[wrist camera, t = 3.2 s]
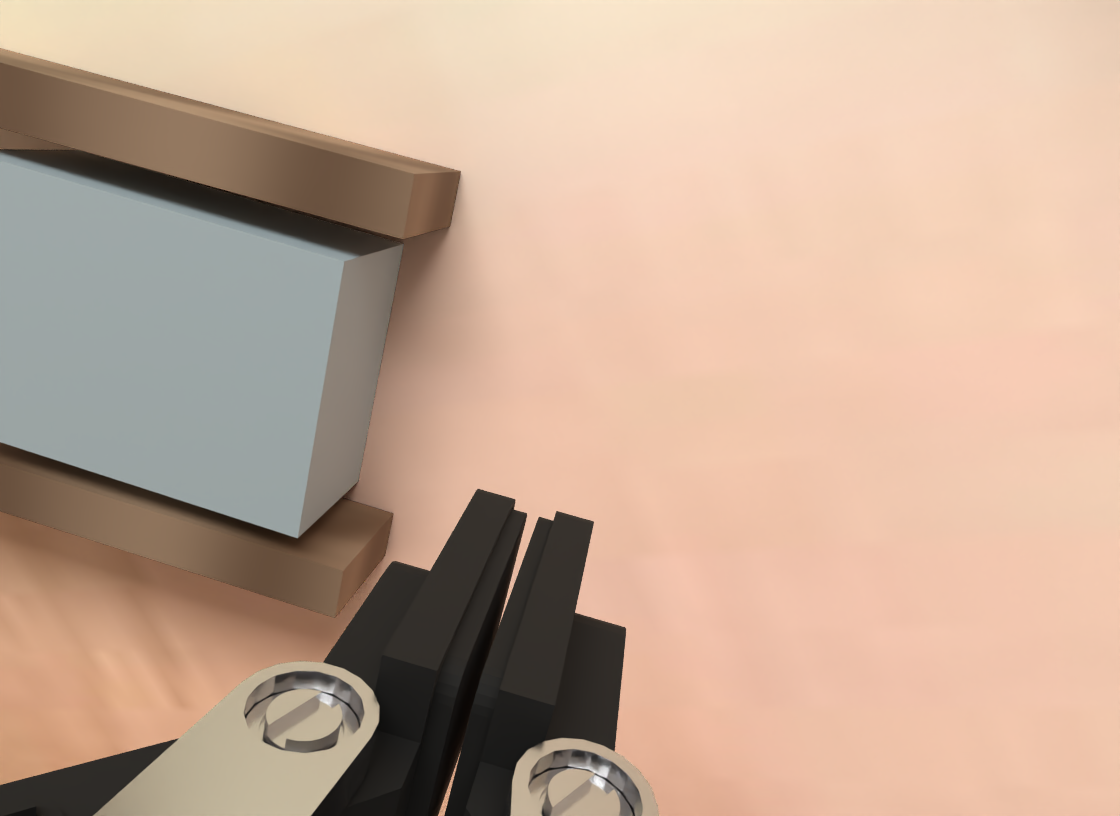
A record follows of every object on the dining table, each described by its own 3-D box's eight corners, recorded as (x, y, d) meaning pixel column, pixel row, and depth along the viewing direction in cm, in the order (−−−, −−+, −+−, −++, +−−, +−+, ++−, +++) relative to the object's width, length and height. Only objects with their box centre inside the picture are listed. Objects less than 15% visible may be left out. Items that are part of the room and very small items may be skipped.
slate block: (407, 242, 19) (344, 261, 15) (362, 477, 21) (297, 538, 17) (88, 149, 19) (-40, 149, 16) (73, 385, 21) (-43, 428, 18)
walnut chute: (460, 171, 18) (414, 173, 15) (384, 555, 21) (334, 618, 18) (-195, -4, 19) (-352, -33, 16) (-175, 381, 22) (-304, 413, 19)
